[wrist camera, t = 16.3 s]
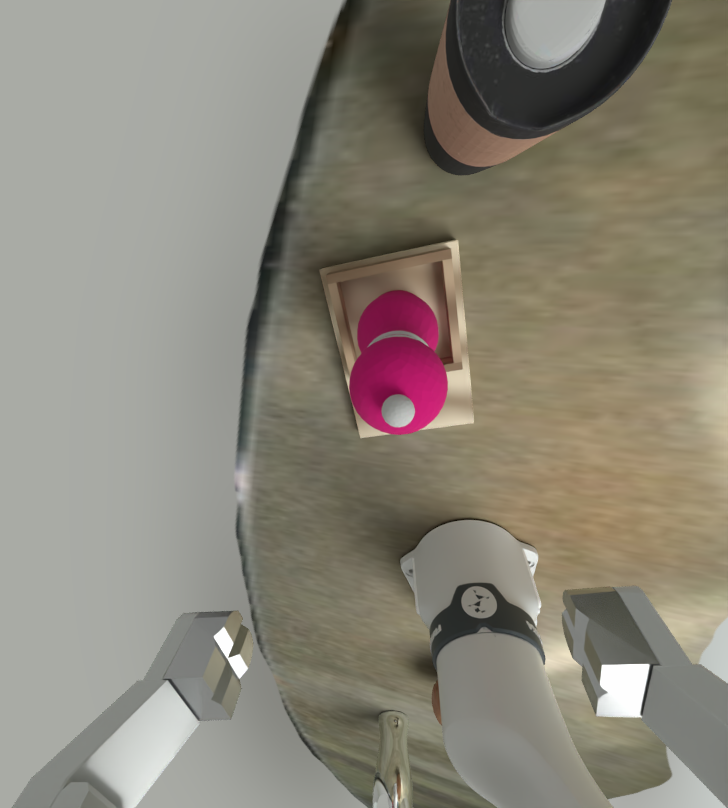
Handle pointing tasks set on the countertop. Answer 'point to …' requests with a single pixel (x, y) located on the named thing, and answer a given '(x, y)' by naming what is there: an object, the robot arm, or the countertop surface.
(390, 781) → the beer glass
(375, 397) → the pepper mill
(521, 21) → the travel mug
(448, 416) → the mill holder
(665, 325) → the countertop surface
